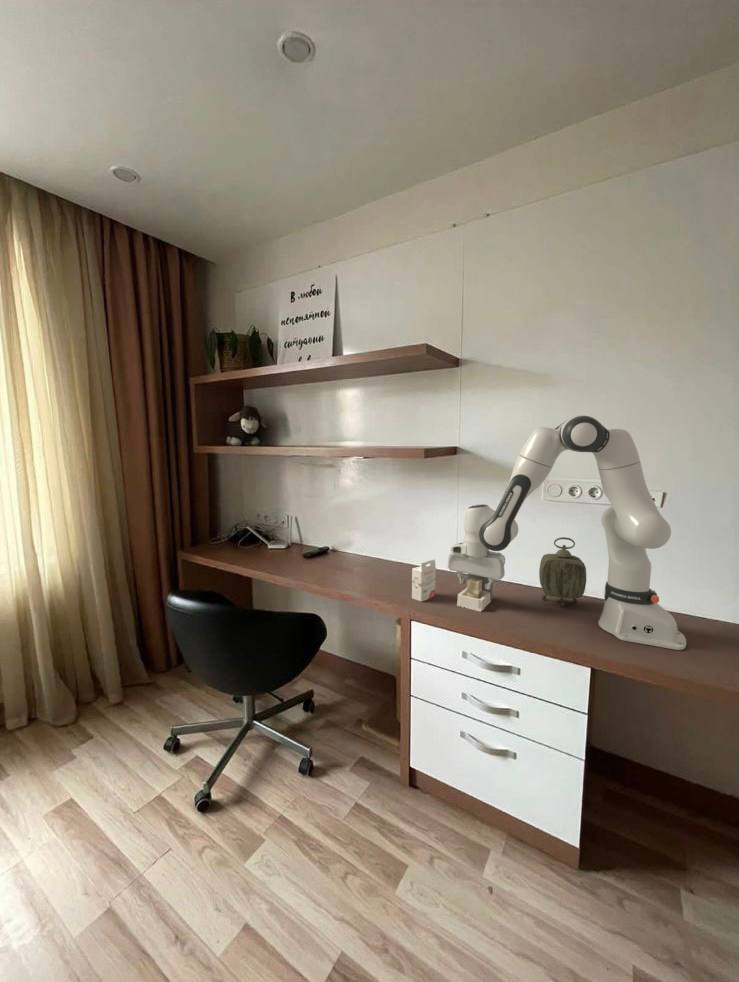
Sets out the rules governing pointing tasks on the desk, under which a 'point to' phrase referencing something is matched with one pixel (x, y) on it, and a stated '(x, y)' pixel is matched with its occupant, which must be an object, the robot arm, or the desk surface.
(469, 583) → the rail end bracket
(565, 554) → the tabletop clock
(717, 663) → the desk surface
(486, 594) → the post socket
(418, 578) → the ink cartridge box
